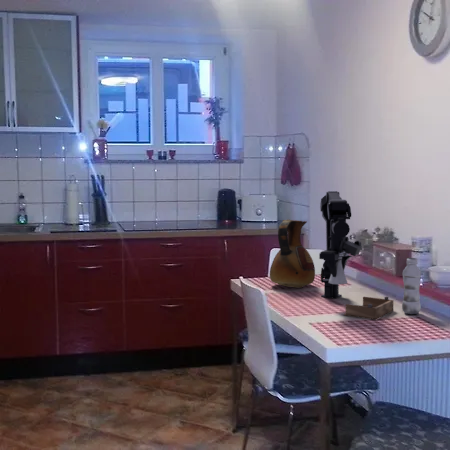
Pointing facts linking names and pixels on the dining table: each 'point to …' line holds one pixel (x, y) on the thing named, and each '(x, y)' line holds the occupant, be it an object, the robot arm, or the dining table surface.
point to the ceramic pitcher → (292, 257)
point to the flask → (338, 275)
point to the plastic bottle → (411, 287)
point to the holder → (370, 308)
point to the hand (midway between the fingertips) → (337, 275)
